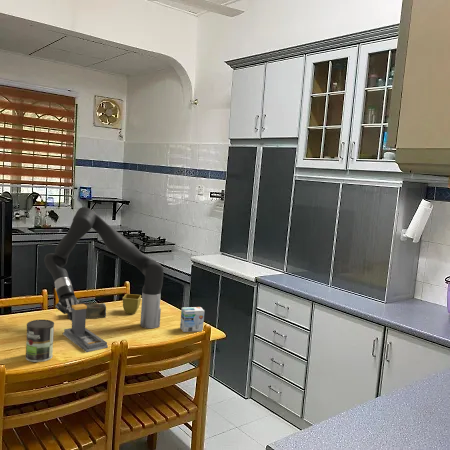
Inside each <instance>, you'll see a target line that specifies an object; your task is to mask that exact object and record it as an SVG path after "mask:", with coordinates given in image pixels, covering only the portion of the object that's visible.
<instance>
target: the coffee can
mask: <svg viewBox="0 0 450 450" xmlns="http://www.w3.org/2000/svg"><path fill="white" fill-rule="evenodd" d="M54 327H55V322H54V321H53V320H49V319H34V320H30V321H28V322H27V323H26V344H25V360H26V361H27V362H31V363H41V362H47V361H49V360H51V359H52V358H53V356H54V355H53V351H54V350H53V347H54Z"/></svg>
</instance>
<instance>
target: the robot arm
mask: <svg viewBox="0 0 450 450" xmlns="http://www.w3.org/2000/svg"><path fill="white" fill-rule="evenodd" d="M91 229H93V230H94V231H95V232H96V233H97V234H98V235H99V236H100V238H101V240H102V242H103V243H104V245H105V246H106V248H107V249H108V250H109V251H111V252H112V253H113V254H115V255H116V256H117V257H118V258H121V259H122V260H124V261H126V262H128V263H130V264H131V265H133V266H134V267H136V268H137V269H138V271H140V272H141V273H142V274H143V275H144V285H143V286H142V291H141V292H142V293H141V294H142V295H141V307H140V310H141V311H140V327H141V328H144V329H155V328H160V326H161V313H162V309H161V292H162V288H163V282H164V274H165V273H164V272H165V271H164V267H163V266H162V265H161V264H160V263H159V262H158V261H157V260H155V259H152V258H150V256H147V255H146V254H145V253H143V252H142V251H140V250H139V249H138V247H137V246H135V244H134V243H132V242H131V240H129V239H128V238H126V237H125V236H124V235H122V234H121V233H119V232H118V231H117V230H116V229H115V228H114V227H112V226H111V225H110V224H109V223H107V222H106V221H105V220H104V219H103V218H102V217H100V215H98V214H97V213H96V212H95V211H94V210H92V209H91V208H89V207H86V206H85V207H80V208H78V209H77V211H76V213H75V215H74V216H73V219H72V222H71V224H70V227H69V230H68V232H66V234H65V235H64V236H63V237H62V239H60V241H59V242H58V244H57V245H56V247H55V249H54V252H53V253H52V252H51V253H47V254H45V256H44V260H43V261H44V265H45V268H46V269H47V270H48V272H49V273H50V274H51V276H52V278H53V282H54V288H55V291H56V295H57V298H58V302H57V303H56V304H55V306H54V307H55V309H57V310H58V311H59V312H61V313H62V314H63V315H66V314H68V315H69V319H68V320H69V321H71V322H72V305H75V303H76V305H77V304H81V303H83V300H81V299H80V300H78V298H77V296H76V295H75V291H74V288H73V285H72V281H71V279H70V278H69V277H70V276H69V273H68V271H67V269H66V268H64V267H65V266H66V265H67V263H68V260H69V259H68V258H69V256H70V254H71V253H72V251H73V250H74V248H75V246H76V245H77V243H78V242H79V241H80V240H81V239H82V238H83V237H84V236H85V235H86V234H87V233H88V232H90V230H91ZM68 315H67V316H68Z"/></svg>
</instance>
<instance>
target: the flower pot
mask: <svg viewBox="0 0 450 450" xmlns="http://www.w3.org/2000/svg"><path fill="white" fill-rule="evenodd" d="M141 302H142V295H141V294H131V293H125V295H124V296H122V307H123V308H122V309H123V310H124V312H125V314H134V315H136V313H137V311H138V309H139V308H140V305H141Z"/></svg>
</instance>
